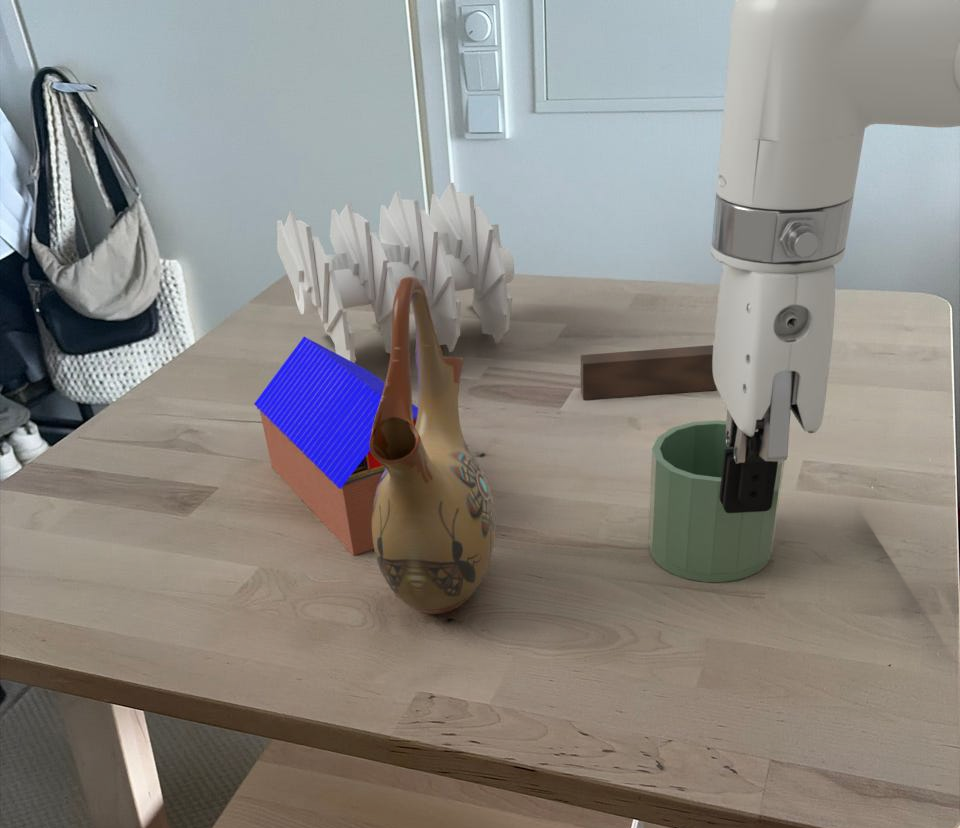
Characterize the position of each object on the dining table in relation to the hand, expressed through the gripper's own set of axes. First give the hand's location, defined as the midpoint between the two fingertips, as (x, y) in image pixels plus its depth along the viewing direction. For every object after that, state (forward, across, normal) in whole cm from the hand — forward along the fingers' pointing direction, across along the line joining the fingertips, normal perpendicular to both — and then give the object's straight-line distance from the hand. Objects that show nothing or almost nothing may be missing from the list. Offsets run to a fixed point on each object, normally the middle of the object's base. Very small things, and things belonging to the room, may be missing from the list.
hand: (744, 505), depth 70 cm
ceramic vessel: (+10, +6, +21) cm, 25 cm away
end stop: (+10, +41, -1) cm, 42 cm away
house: (+10, +24, +28) cm, 39 cm away
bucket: (+10, +10, -1) cm, 14 cm away
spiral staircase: (+10, +56, +24) cm, 62 cm away
